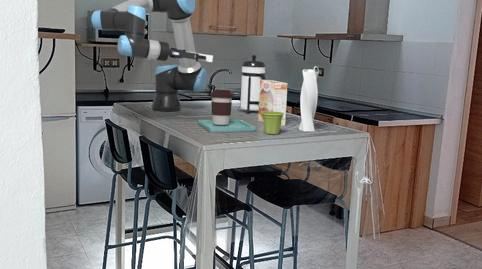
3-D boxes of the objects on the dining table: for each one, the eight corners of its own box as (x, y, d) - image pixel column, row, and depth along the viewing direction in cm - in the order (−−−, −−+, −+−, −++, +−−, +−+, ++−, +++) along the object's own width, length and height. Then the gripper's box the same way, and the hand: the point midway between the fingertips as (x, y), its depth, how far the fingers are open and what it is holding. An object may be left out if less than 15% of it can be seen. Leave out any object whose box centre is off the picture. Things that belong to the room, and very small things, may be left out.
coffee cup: (215, 125, 212) (216, 90, 210) (205, 123, 220) (206, 89, 218) (236, 125, 217) (237, 90, 215) (225, 122, 225) (226, 89, 223)
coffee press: (232, 112, 261) (234, 54, 255) (243, 109, 275) (246, 54, 270) (263, 115, 255) (266, 56, 249) (273, 112, 269) (276, 55, 264)
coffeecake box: (257, 120, 238) (259, 79, 234) (270, 120, 240) (273, 79, 237) (271, 126, 224) (274, 82, 220) (285, 125, 227) (288, 82, 223)
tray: (197, 124, 221) (197, 120, 221) (240, 123, 228) (240, 119, 228) (210, 132, 203) (210, 128, 203) (256, 131, 210) (256, 127, 209)
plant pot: (266, 136, 201) (267, 114, 199) (256, 131, 209) (257, 111, 207) (287, 135, 204) (288, 114, 203) (276, 131, 213) (277, 110, 211)
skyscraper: (320, 132, 213) (325, 66, 208) (302, 133, 210) (307, 66, 205) (311, 129, 221) (316, 65, 215) (294, 129, 218) (299, 64, 213)
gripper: (147, 57, 212) (194, 64, 222) (165, 62, 190) (216, 69, 200) (149, 39, 211) (196, 47, 221) (168, 42, 189) (219, 50, 199)
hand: (206, 57), depth 211 cm, fingers open, 13 cm apart
